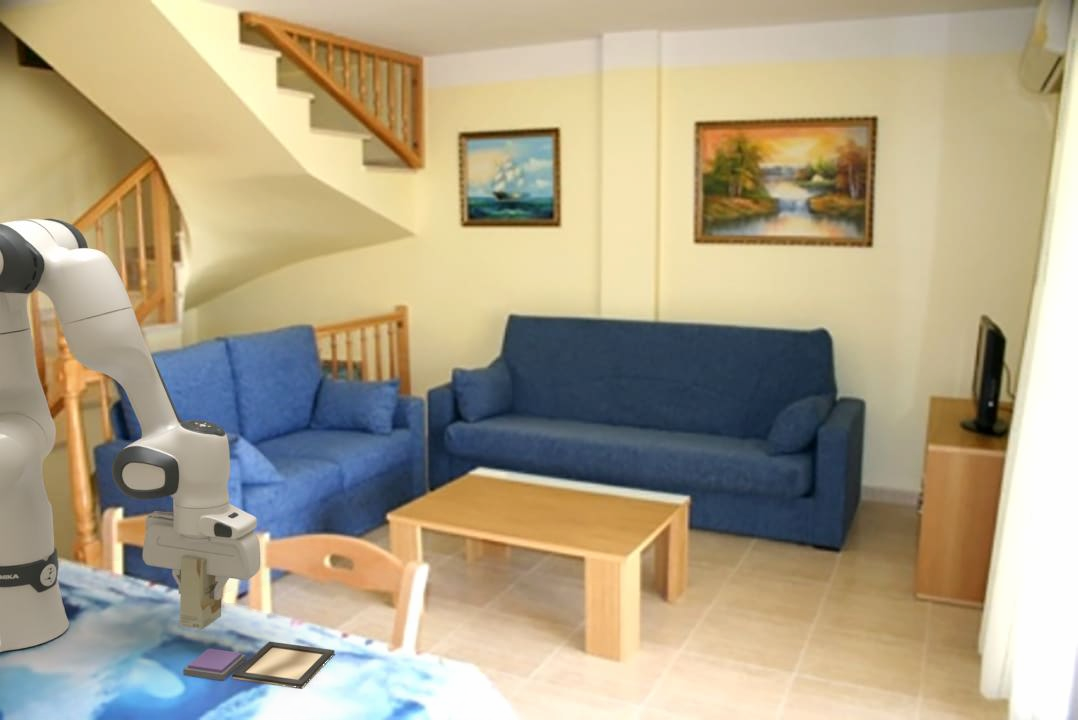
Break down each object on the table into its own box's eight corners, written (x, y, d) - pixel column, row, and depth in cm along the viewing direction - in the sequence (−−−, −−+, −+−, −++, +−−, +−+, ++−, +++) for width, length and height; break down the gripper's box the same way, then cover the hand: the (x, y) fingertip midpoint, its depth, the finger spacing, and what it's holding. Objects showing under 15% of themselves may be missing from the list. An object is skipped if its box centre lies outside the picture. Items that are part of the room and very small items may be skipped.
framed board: (232, 678, 149) (232, 674, 149) (269, 645, 161) (269, 641, 161) (301, 688, 147) (301, 684, 147) (334, 654, 158) (334, 650, 158)
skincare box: (202, 630, 156) (203, 560, 154) (178, 626, 157) (179, 557, 155) (223, 615, 162) (224, 548, 161) (200, 611, 163) (201, 544, 161)
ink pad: (183, 674, 150) (183, 666, 150) (207, 655, 157) (207, 646, 156) (223, 680, 149) (222, 671, 148) (246, 660, 155) (245, 652, 155)
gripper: (134, 514, 156) (134, 593, 158) (246, 531, 152) (245, 612, 154) (157, 504, 162) (157, 580, 164) (266, 519, 158) (264, 597, 160)
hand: (200, 595), depth 159 cm, fingers closed on skincare box, 4 cm apart
